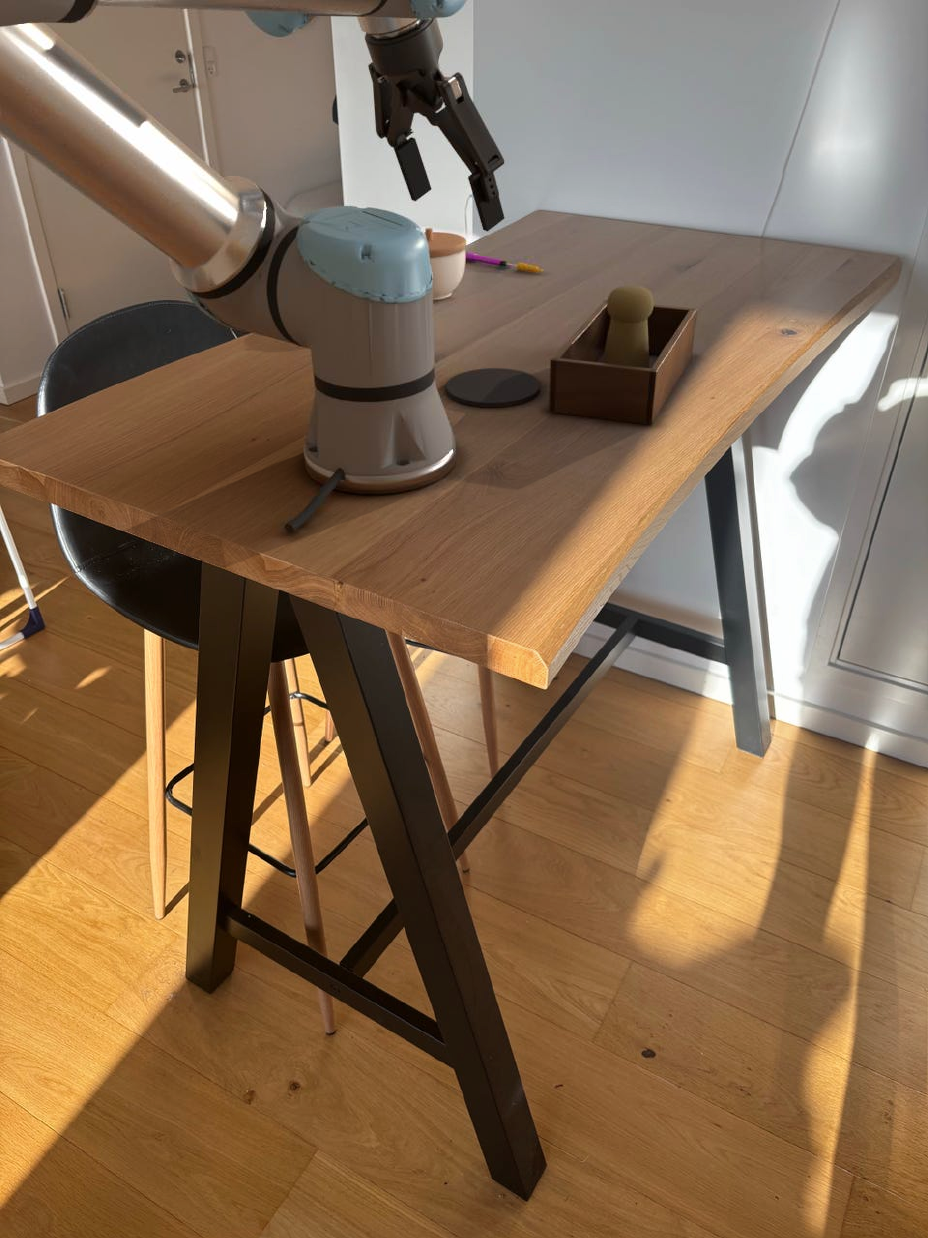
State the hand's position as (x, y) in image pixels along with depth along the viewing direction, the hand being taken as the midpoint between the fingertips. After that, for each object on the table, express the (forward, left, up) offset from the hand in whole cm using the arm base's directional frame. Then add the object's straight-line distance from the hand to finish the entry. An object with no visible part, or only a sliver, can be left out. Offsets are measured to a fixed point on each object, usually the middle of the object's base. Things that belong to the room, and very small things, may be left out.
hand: (456, 209), depth 115 cm
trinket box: (+23, +14, -18) cm, 32 cm away
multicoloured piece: (+41, +9, -18) cm, 46 cm away
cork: (-3, -22, -18) cm, 28 cm away
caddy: (-3, -22, -18) cm, 28 cm away
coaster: (-10, -8, -18) cm, 22 cm away
